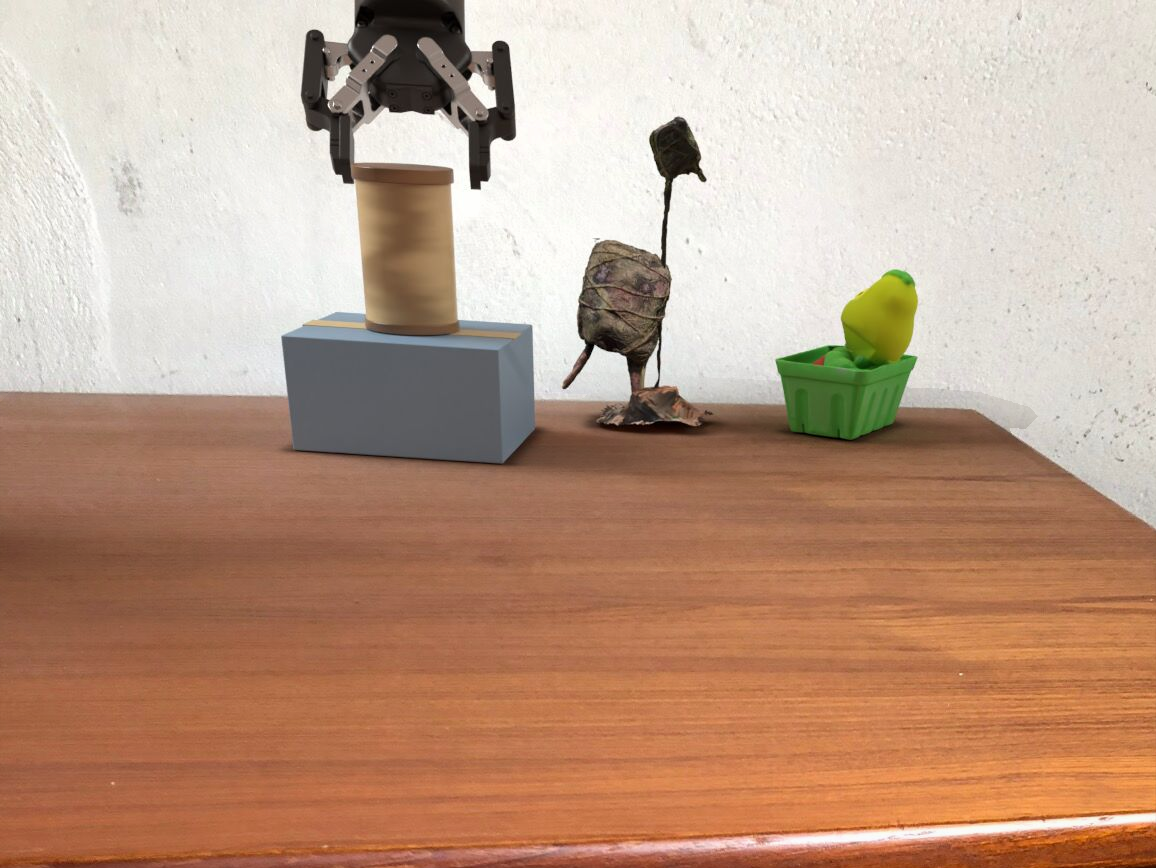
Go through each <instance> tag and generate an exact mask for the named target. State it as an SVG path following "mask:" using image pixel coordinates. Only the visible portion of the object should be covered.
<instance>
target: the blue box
mask: <svg viewBox="0 0 1156 868" xmlns="http://www.w3.org/2000/svg"><path fill="white" fill-rule="evenodd" d="M365 317H366V313H362V312H361V313H358V312H345V311H344V312H343V311H334V312H333V313H330V314H328V315H325V316H323V317H321V318H319V319H312V320H310V321H306V322H305V323H302V326H301V327H298V328H296V329H293V330H291V331H288V332H286V333H284V334H282V335H280V338H281V339H280V340H281V348H282V356H283V367H284V375H285V376H284V377H285V385H286V393H287V401H288V403H287V404H288V413H289V422H290V430H291V441H292V448H293V449H292V450H294V451H303V452H315V453H317V452H318V453H333V454H348V455H364V456H376V457H377V456H379V457H393V458H394V457H396V458H408V459H409V458H410V459H424V460H425V459H426V460H438V461H439V460H441V461H453V462H456V461H457V462H467V463H469V462H470V463H485V464H499V465H500V464H501V465H502V464H504V463H505V462H506V461H507V460H508V458H510V457H511V455H512V454H513V453H514V452H515V451H517V449H518V448H519V447H520V446H521V445H522V444H523V443H524V441H525V440H526V439H528V437H529V436H530V435H531V434H532V433H533V432H534V431H535V429H536V408H535V407H536V406H535V405H536V404H535V403H536V401H535V367H534V339H533V338H534V335H533V332H534V331H533V330H534V329H533V325H532V324H529V323H513V322H500V321H499V322H497V321H481V320H468V319H467V320H465V319H458V320H459V322H460V330H459V331H458V332H455V333H451V334H444V335H426V336H418V335H396V334H387V333H380V332H375V331H371V330H369V329H367V328H366V327H365Z"/></svg>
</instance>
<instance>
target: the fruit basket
mask: <svg viewBox="0 0 1156 868" xmlns="http://www.w3.org/2000/svg"><path fill="white" fill-rule="evenodd" d="M918 305H919V296H918V293H917V290H916V281H915V280H914V278H913V277H912V275H911V274H910V273H908V272H907V271H905V270H901V269H898V268H894V269H891V270H888V271H886V272H885V273H884V274H883V275H882V276H881V278H879V279H878V280H877V281H875V282H874V283H873V284H871V285H870V286H869V288H865V289H864V290H862V291H860V292H858V293H857V294H856V295H855V296H854V298H853V299H851V300H849V301H848V302H847V303H846V304H845V306H844V307H843V309H842V312H841V315H840V321H841V326H842V329H843V335H844V341H845V343H844V345H835V344H828V345H827V344H826V345H823V346H820V347H816V348H811V349H809V350H804V351H799V352H797V353H794V354H790V355H786V356H783V357H778V358H775V365H776V368H777V369H776V370H777V373H778V375H779V376H780V380H781V386H782V390H783V391H782V392H783V396H784V402H785V407H786V412H787V418H788V423H789V429H790V431H791V432H794V433H805V434H808V435H815V436H820V437H821V436H822V437H828V438H836V439H838V438H840V439H845V440H849V441H852V440H854V439H857V438H859V437H860V436H865V435H867V434H870V433H871V432H873V431H874V432H875V431H878V430H880V429H882V428H884V427H887V426H890V425H892V424H893V423H894V422H895V419H896V416H897V413H898V411H899V407H900V405H901V402H902V399H903V395H904V393H905V389H906V387H907V385H908V381H909V378H910V375H911V373H912V371H913V370H914V368H915V366H916V363H917V360H918V358H919V356H917V355H910V354H906V352H907V350H908V349H909V346H910V344H911V343H912V338H913V334H914V329H915V328H914V326H915V316H916V313H917V309H918Z"/></svg>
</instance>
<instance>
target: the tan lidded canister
mask: <svg viewBox="0 0 1156 868" xmlns="http://www.w3.org/2000/svg"><path fill="white" fill-rule="evenodd" d="M351 176H352V178H353V179H354V185H355V197H356V209H357V211H356V212H357V218H358V219H357V223H358V234H359V245H360V258H361V270H362V271H361V272H362V283H363V294H364V295H363V296H364V309H365V314H366V317H365V327H366V328H367V329H369V330H371V331H375V332H380V333H387V334H396V335H418V336H426V335H444V334H451V333H455V332H458V331H459V330H460V322H459V320H460V319H459V318H458V317H459V314H458V295H457V276H456V255H455V254H456V253H455V239H454V237H455V236H454V218H453V217H454V216H453V198H452V196H453V195H452V184H454V183H455V177H454V169H453V168H452V167H447V166H440V165H431V164H417V163H400V162H399V163H397V162H354V163H352V164H351Z"/></svg>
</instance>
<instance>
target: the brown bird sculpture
mask: <svg viewBox="0 0 1156 868" xmlns="http://www.w3.org/2000/svg"><path fill="white" fill-rule="evenodd" d="M648 142H649V146H650V149H651V152H652V156H653V161H654V162H655V163H654V164H655V165H656V170H657V171H658V174H659V176H660V177H663V178H664V181H665V182H664V189H663V193H662V194H663V204H664V205H663V206H664V209H663V218H662V223H661V236H660V245H661V246H660V250H661V255H660V256H659V255H658V254H657V253H652V252H650V251H648V250H646V249H642V248H638V247H636V246H633V245H630V244H627V243H623V242H621V241H618V240H616V239H604V240H601V238H599V237H598V238H597V237H596V238H593V237H592V239H594V240H596V241H597V242H595V243H594V246H593V247H592V249H591V252H590V255H589V257H588V261H587V265H586V267H585V269H584V275H583V277H582V284H581V285H582V286H581V292H580V293H579V296H578V299H577V301H578V305H577V311H576V327H577V334H578V337H579V339H580V340H582V341H584V345H585V346H584V349H583V350H582V352H581V353H580V354H579V356H578V358H577V359H576V361H575V363H574V364H573V366H572V369H571V371H570V372H569V373H568V375H567V376H566V377H565V378H564V380H563V381H562V385H561V389H562V390H567V389H568V388H570V386H571V385H572V384H573V382H574V381H575V380H576V378H577V376H579V374H580V373H581V372H582V370H583V369H584V367H585V366H586V365H587V363H588V360H589V359H591V355H592V353H593V351H594V349H595V347H597V348H599V349H600V350H603V351H604V352H608V353H616V354H619V355H621V357H622V356H623V357H625V358H626V365H627V371H628V374H629V380H630V381H629V382H630V390H631V394H630V396H629V400H628V402H627V404H621V403H620V402H618V404H614V405H607V404H606V407H604V408H603V409H601V411H602V412H600V416H599V418H598V419H597V420H596V421H595V423H596V424H597V423H598V424H602V423H603V424H604V425H610V424H614V425H616V426H624V427H626V426H629V425H635V424H636V425H642V426H644V425H651V424H654V423H656V422H658V421H659V422H660V421H661V422H663V421H664V422H678V423H679V422H680V423H683V424H686V425H689V426H693V427H698V426H700V425H702V424H703V422H701V421H706V419H705V418H704V417H706V416H714V415H715V413H714V412H713V411H708V409H706V410H705V411H704V410H702V409H700V408H698V407H696V406H694V405H693V404H691V403H690V402H689V401H687V400H686V399H685V398H684V397H683V396H681V395H680V391H679V388H678V387H677V386H676V385H675V386H674V385H673V386H671V385H662V386H660V380H661V366H662V365H661V364H662V360H661V353H662V341H663V337H662V336H663V335H662V333H663V320H664V319H665V317H666V308H667V304H668V302H669V301H670V295H671V288H672V287H671V286H672V282H673V281H672V280H673V278H672V275H671V271H670V267H669V265H668V264H667V237H668V222H669V221H668V219H669V212H670V210H671V200H672V191H673V182H674V179H677V178H678V176H682V175H687V176H690V174H694V175H697V177H698V178H697V179H698V180H699V181H700V182H701V183H706V182H707V180H708V179H707V177H706V176H705V174H704V173H703V169H702V168H701V166H700V162H701V161H702V155H701V150H700V147H699V144H698V142H697V139H696V138H695V135H694V133H693V131H692V129H691V127H690V125H689V123H688V121H687V120H686V119H685V118H684V117H682V116H680V115H678V116H675V117H674V118H673V119H671V120H670V121H668V122H666V123H665V124H661V125H659V126H658V127H657V128H656V129H653V130H652V131H651V133H650V135H649V139H648ZM599 240H601V241H599ZM598 241H599V242H598ZM657 346H658V348H657ZM656 348H657V351H656V367H657V368H656V369H657V380H656V382H655V384H654V386H645V378H646V371H647V366H648V365H647V364H648V363H649V359H650V358H651V357H652V355H653V354H654V352H655V350H656Z"/></svg>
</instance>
